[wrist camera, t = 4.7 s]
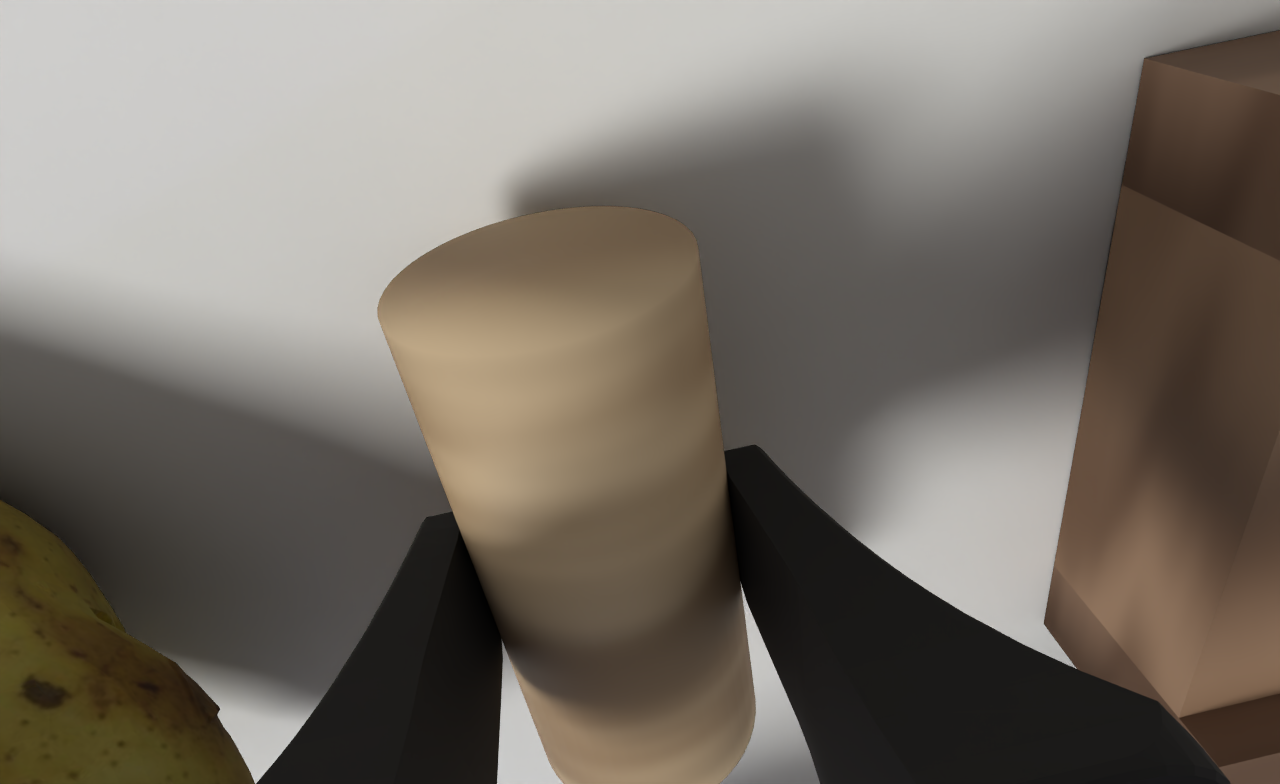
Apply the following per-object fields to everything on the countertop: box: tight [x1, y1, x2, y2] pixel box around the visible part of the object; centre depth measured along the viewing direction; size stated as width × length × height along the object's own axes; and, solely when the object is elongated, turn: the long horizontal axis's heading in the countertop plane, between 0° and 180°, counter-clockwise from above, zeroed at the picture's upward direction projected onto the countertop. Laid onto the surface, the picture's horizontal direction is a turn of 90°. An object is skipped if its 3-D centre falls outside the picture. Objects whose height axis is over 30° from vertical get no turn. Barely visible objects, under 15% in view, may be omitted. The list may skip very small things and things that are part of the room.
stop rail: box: [1044, 30, 1280, 784], centre depth 14 cm, size 13×3×5 cm, turn 9°
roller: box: [378, 206, 756, 784], centre depth 12 cm, size 9×4×4 cm, turn 9°
